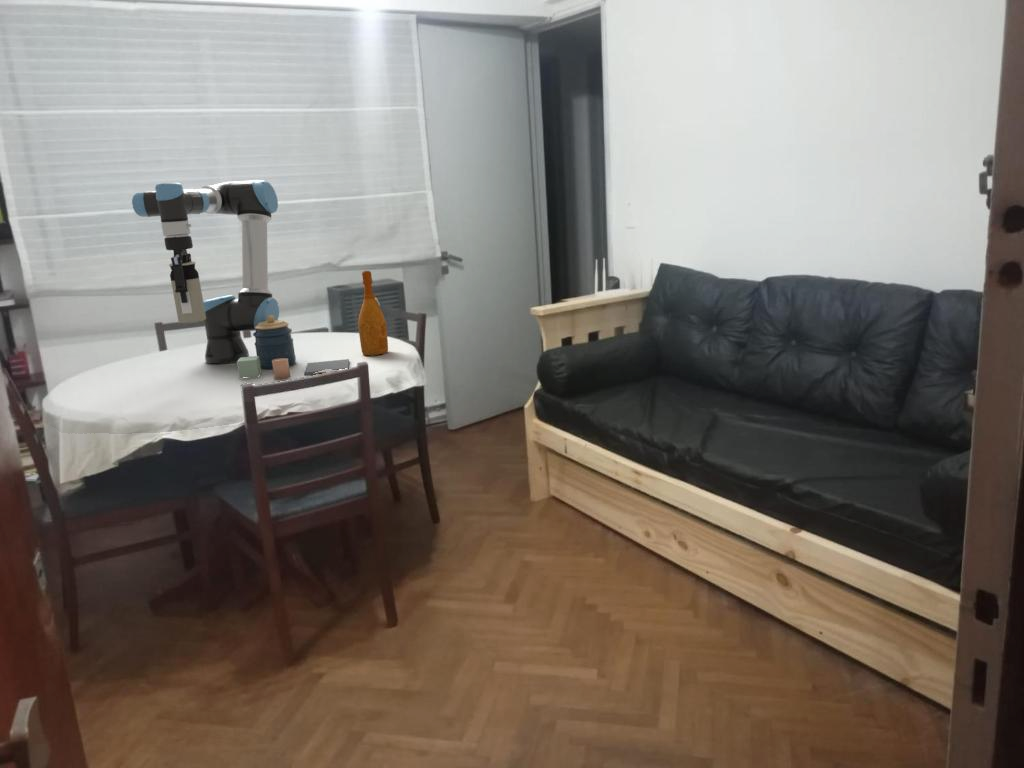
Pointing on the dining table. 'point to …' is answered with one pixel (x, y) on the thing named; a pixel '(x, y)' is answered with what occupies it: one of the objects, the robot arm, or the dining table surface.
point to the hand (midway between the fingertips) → (190, 310)
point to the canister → (273, 342)
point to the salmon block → (281, 368)
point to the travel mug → (194, 294)
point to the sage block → (249, 366)
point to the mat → (326, 366)
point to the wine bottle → (371, 322)
